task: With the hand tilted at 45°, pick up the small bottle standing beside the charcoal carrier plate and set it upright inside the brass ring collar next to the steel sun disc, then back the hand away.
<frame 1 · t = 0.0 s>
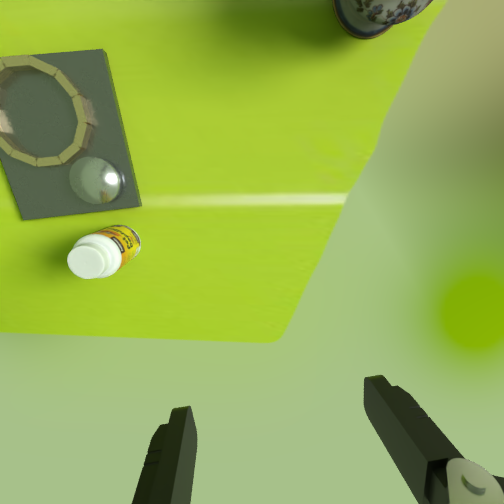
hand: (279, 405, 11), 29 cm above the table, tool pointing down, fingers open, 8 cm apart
carrier plate: (65, 141, 33), on the table
supplement bottle: (123, 241, 38), on the table
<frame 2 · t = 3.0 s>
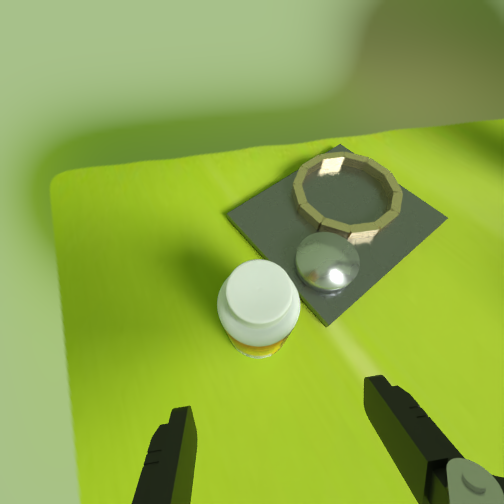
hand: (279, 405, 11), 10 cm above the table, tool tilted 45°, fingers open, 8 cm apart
carrier plate: (333, 220, 29), on the table
supplement bottle: (257, 327, 23), on the table
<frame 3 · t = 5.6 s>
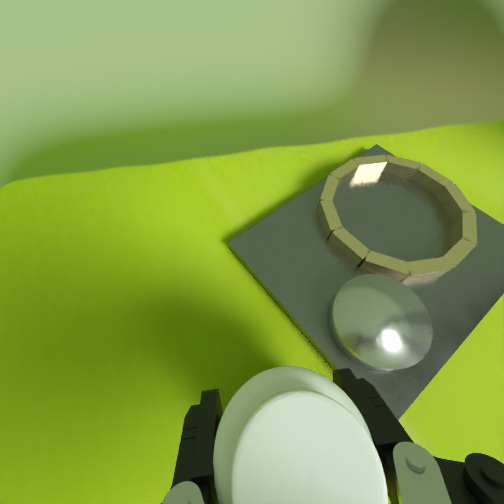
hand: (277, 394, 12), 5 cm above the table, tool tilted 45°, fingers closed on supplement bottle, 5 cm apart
carrier plate: (376, 251, 21), on the table
supplement bottle: (277, 424, 15), on the table, touching gripper
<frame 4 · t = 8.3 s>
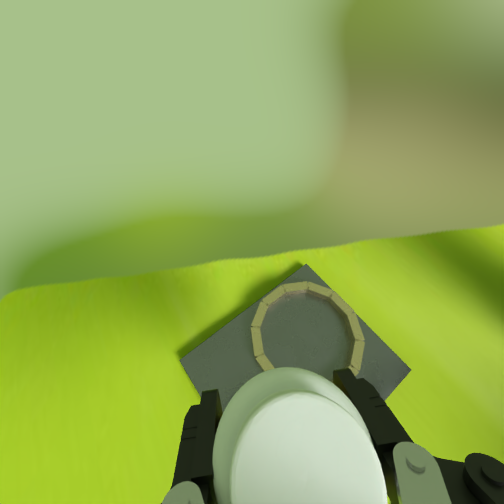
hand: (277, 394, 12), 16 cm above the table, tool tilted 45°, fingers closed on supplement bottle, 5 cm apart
carrier plate: (293, 365, 27), on the table
supplement bottle: (276, 425, 15), point 11 cm above the table, touching gripper
when the fingers open (7 cm above the table, at t = 11.3 s): supplement bottle drops 1 cm, resting on carrier plate.
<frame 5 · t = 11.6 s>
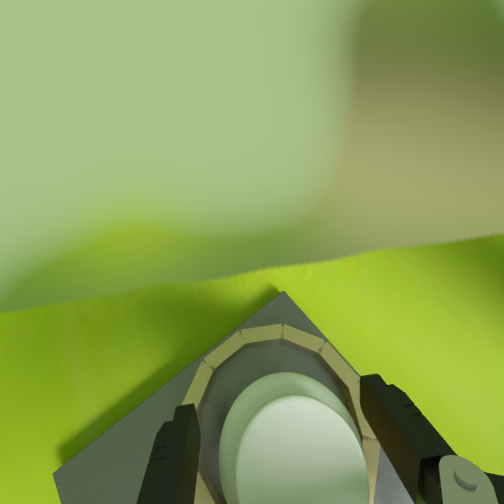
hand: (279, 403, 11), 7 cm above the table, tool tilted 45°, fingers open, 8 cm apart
carrier plate: (254, 478, 16), on the table
supplement bottle: (276, 425, 16), point 1 cm above the table, touching carrier plate
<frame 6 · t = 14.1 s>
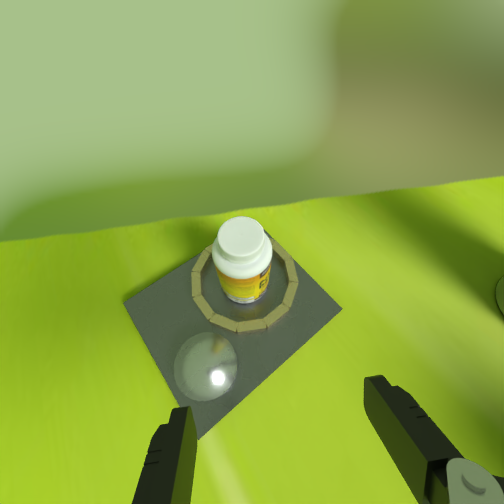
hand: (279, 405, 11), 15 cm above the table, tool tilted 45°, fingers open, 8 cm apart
carrier plate: (232, 308, 29), on the table
supplement bottle: (244, 282, 29), point 1 cm above the table, touching carrier plate
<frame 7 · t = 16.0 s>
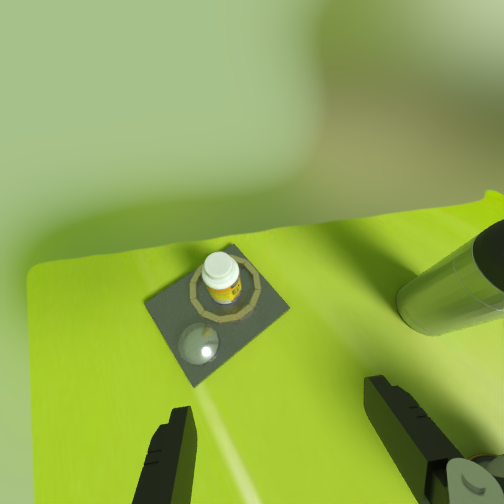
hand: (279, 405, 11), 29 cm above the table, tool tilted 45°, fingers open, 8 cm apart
carrier plate: (217, 307, 43), on the table
supplement bottle: (226, 289, 43), point 1 cm above the table, touching carrier plate
apothecary jar: (499, 503, 30), on the table
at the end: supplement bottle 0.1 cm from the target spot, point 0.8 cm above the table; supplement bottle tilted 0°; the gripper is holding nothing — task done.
